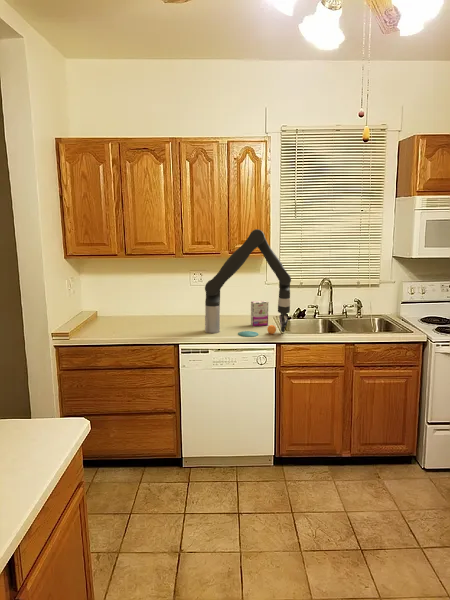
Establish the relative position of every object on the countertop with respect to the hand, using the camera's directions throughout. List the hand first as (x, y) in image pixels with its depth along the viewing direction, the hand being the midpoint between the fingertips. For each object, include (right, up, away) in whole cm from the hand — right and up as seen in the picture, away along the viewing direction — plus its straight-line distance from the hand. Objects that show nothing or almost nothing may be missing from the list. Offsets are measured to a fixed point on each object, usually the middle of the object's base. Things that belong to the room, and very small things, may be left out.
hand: (282, 331), depth 285 cm
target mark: (-22, -1, -2) cm, 22 cm away
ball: (-7, +1, -1) cm, 7 cm away
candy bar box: (-14, +3, +20) cm, 25 cm away
